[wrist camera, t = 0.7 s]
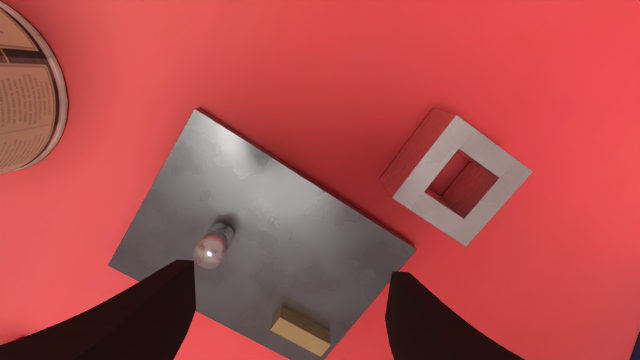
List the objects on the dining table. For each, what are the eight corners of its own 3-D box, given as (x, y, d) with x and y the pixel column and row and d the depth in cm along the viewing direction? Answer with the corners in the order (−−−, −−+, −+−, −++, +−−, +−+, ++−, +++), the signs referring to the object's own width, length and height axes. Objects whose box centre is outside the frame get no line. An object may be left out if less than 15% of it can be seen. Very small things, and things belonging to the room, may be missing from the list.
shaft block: (413, 243, 22) (430, 273, 19) (313, 362, 25) (313, 406, 22) (199, 107, 20) (175, 114, 16) (114, 258, 22) (79, 290, 19)
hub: (497, 156, 21) (532, 171, 17) (443, 220, 22) (466, 246, 19) (432, 108, 20) (456, 114, 16) (379, 178, 21) (391, 197, 18)
